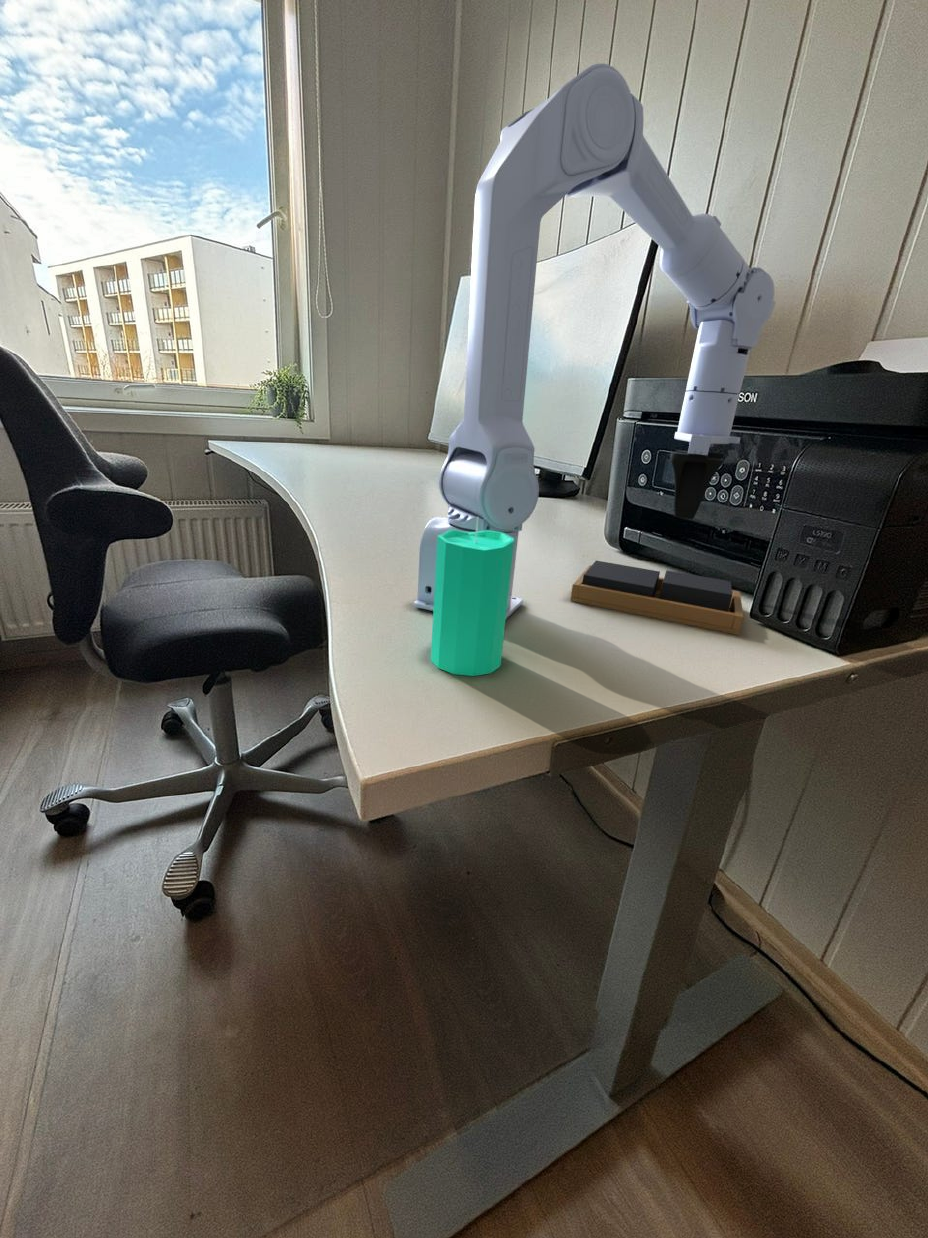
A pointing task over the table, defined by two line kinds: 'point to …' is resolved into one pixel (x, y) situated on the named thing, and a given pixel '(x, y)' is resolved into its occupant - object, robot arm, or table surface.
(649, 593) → the pad
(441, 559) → the candle
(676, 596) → the pad
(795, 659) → the table surface
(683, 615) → the frame
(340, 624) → the table surface
